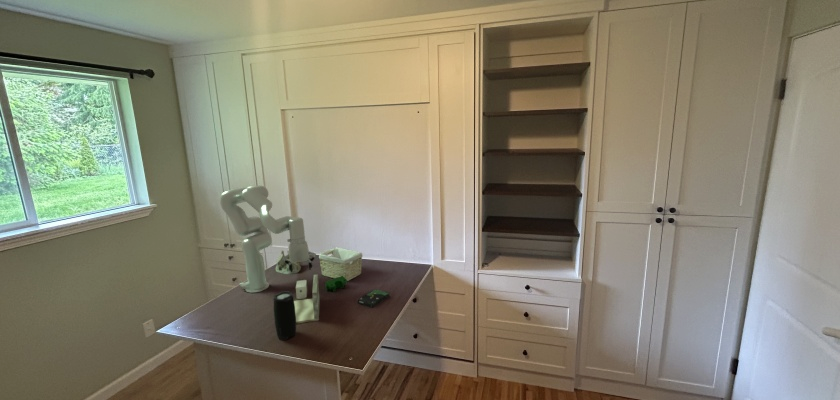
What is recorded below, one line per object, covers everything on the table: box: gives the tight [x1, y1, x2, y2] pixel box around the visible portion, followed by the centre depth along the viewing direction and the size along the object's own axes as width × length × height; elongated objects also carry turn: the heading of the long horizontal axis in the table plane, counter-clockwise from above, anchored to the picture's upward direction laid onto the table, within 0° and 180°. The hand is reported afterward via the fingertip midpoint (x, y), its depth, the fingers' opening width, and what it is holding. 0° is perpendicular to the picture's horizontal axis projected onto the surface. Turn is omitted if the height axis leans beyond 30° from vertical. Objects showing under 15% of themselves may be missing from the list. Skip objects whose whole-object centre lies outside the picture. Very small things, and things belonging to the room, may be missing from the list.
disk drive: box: [357, 288, 390, 309], centre depth 182 cm, size 10×3×15 cm
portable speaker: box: [272, 290, 297, 341], centre depth 148 cm, size 9×9×20 cm
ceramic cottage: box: [275, 250, 302, 275], centre depth 222 cm, size 16×16×15 cm
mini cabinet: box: [295, 279, 308, 300], centre depth 187 cm, size 5×10×7 cm, turn 15°
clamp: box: [324, 276, 348, 293], centre depth 194 cm, size 12×6×9 cm, turn 128°
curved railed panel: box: [294, 273, 321, 325], centre depth 169 cm, size 19×22×14 cm
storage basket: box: [318, 246, 363, 282], centre depth 214 cm, size 24×16×15 cm
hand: (301, 270), depth 185 cm, fingers open, 9 cm apart
